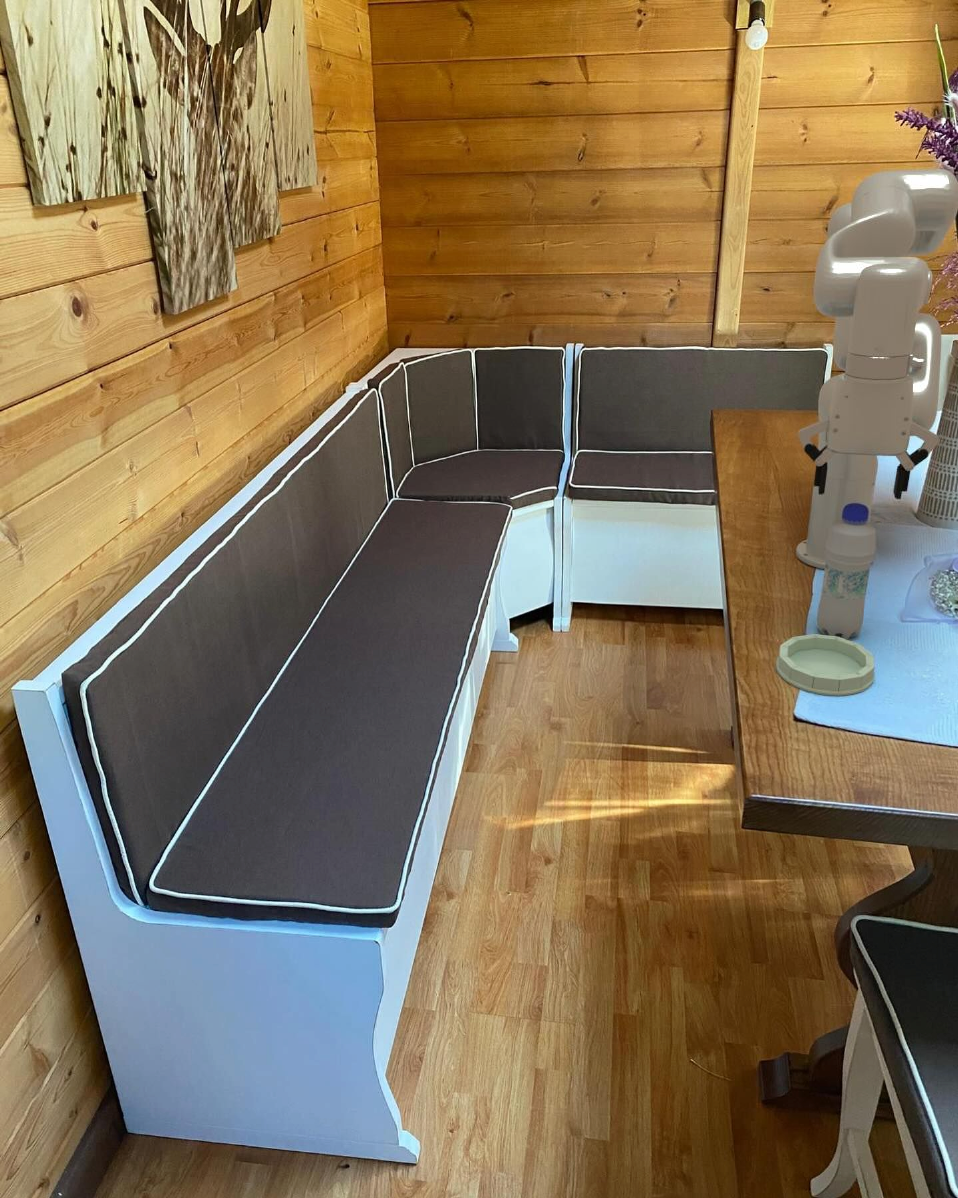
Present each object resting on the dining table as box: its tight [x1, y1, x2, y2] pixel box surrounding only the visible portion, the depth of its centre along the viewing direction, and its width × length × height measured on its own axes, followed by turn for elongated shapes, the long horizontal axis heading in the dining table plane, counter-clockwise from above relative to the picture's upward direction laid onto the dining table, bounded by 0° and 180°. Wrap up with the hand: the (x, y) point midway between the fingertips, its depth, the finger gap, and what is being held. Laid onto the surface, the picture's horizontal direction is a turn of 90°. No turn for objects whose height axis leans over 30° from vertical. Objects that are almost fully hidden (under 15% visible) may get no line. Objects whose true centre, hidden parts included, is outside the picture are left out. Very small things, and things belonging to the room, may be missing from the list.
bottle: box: [816, 503, 877, 640], centre depth 128 cm, size 7×7×20 cm
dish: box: [775, 633, 876, 697], centre depth 122 cm, size 13×13×2 cm
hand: (858, 493), depth 122 cm, fingers open, 9 cm apart
